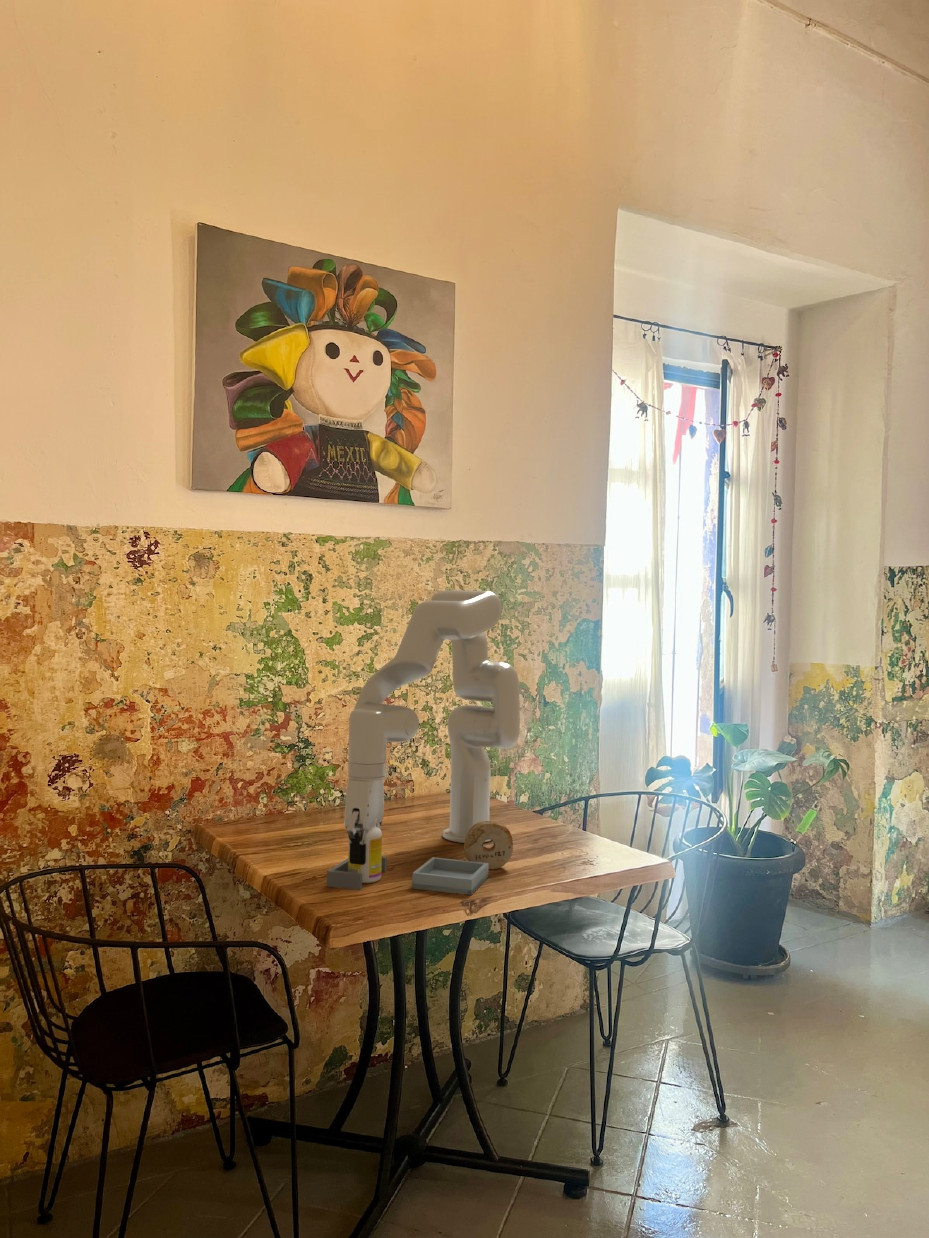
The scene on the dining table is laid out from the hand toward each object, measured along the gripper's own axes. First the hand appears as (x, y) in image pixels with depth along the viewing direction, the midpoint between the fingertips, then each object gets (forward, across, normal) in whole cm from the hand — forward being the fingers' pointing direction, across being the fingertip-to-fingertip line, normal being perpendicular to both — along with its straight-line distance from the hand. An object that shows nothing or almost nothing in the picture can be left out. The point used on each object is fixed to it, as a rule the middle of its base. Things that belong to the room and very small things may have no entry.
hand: (364, 858), depth 184 cm
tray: (+4, -4, +17) cm, 18 cm away
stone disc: (+4, -17, +21) cm, 27 cm away
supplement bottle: (+4, 0, 0) cm, 4 cm away
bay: (+4, 0, -2) cm, 4 cm away
